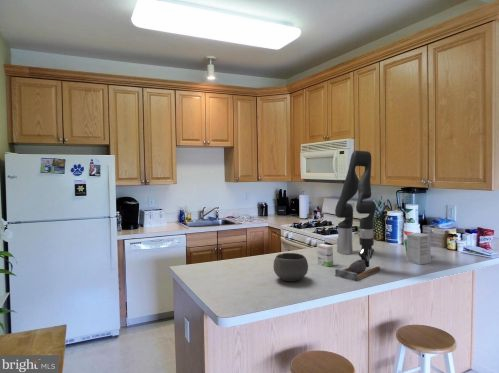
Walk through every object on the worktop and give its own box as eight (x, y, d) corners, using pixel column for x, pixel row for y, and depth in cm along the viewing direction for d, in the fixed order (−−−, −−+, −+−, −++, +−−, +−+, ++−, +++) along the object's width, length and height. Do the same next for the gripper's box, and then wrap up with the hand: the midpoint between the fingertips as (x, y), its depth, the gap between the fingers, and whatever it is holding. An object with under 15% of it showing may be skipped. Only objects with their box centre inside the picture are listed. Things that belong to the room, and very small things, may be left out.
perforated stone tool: (352, 278, 177) (352, 265, 177) (344, 275, 181) (344, 263, 181) (368, 272, 187) (368, 259, 186) (360, 270, 191) (360, 257, 190)
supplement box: (431, 263, 201) (431, 234, 200) (419, 265, 197) (419, 236, 196) (417, 259, 209) (417, 232, 208) (406, 261, 206) (406, 233, 205)
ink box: (333, 265, 202) (333, 245, 201) (327, 266, 199) (327, 247, 198) (322, 262, 209) (322, 243, 208) (317, 263, 206) (316, 244, 205)
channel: (335, 275, 182) (335, 269, 182) (360, 266, 198) (360, 260, 198) (355, 281, 173) (355, 274, 172) (380, 270, 189) (380, 264, 189)
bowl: (273, 274, 187) (272, 252, 186) (305, 274, 186) (305, 251, 186) (274, 285, 169) (273, 260, 169) (310, 285, 169) (310, 260, 168)
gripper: (366, 233, 197) (366, 263, 198) (354, 237, 188) (354, 268, 189) (378, 235, 191) (379, 265, 192) (366, 239, 183) (366, 271, 184)
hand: (366, 266), depth 191 cm, fingers closed
